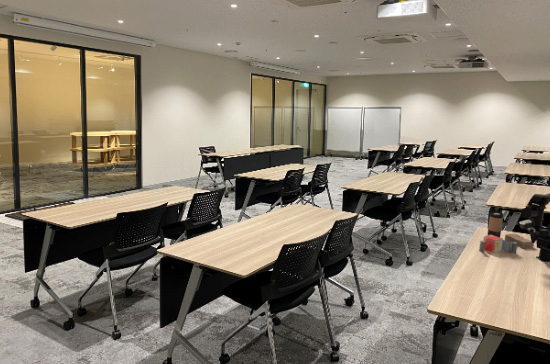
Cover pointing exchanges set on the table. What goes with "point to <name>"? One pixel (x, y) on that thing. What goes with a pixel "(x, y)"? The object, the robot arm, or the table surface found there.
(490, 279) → the table surface
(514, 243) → the door frame
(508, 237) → the brick
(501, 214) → the travel mug
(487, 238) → the red white patterned box
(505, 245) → the door
